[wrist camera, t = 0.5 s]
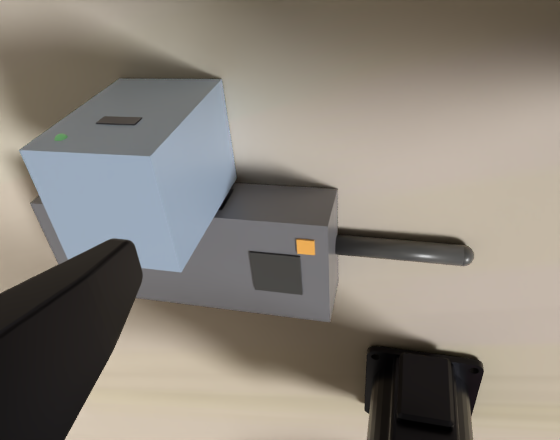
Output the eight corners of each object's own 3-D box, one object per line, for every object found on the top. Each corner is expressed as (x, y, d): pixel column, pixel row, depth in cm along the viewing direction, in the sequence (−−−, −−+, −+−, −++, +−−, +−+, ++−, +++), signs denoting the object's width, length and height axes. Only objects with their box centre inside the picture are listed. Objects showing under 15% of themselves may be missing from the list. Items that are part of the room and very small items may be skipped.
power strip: (463, 294, 25) (468, 341, 22) (98, 256, 30) (69, 290, 27) (483, 197, 21) (491, 240, 19) (65, 172, 26) (28, 204, 24)
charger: (244, 223, 25) (194, 322, 20) (158, 216, 26) (89, 308, 21) (221, 75, 21) (148, 152, 15) (118, 75, 22) (17, 146, 16)
